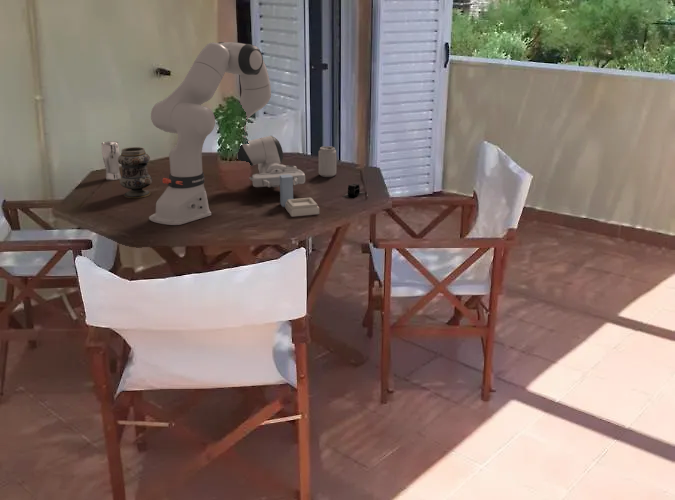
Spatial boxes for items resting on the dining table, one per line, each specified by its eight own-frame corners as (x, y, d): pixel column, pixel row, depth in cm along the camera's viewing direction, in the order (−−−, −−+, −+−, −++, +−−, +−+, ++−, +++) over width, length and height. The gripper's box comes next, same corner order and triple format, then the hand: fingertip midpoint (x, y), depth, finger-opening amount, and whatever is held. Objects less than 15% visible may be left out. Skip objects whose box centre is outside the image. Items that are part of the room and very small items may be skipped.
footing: (319, 214, 263) (319, 204, 262) (291, 216, 260) (291, 207, 259) (312, 206, 272) (312, 197, 271) (285, 208, 269) (285, 199, 268)
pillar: (293, 206, 272) (292, 177, 268) (282, 207, 271) (281, 177, 267) (290, 203, 276) (290, 174, 272) (280, 203, 275) (279, 175, 271)
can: (339, 175, 313) (339, 147, 309) (325, 178, 309) (324, 150, 305) (329, 172, 319) (329, 144, 315) (315, 174, 315) (315, 146, 311)
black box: (353, 201, 280) (353, 189, 278) (336, 198, 284) (336, 186, 282) (369, 193, 290) (369, 182, 288) (353, 191, 294) (353, 179, 292)
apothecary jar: (152, 189, 293) (148, 144, 287) (154, 197, 283) (150, 151, 276) (120, 192, 290) (115, 146, 284) (121, 200, 279) (116, 153, 273)
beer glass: (121, 175, 314) (118, 140, 308) (122, 179, 307) (119, 144, 302) (104, 177, 312) (100, 141, 306) (105, 181, 305) (101, 145, 300)
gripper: (248, 169, 285) (254, 177, 272) (299, 165, 290) (308, 174, 278) (248, 185, 287) (255, 194, 275) (300, 181, 293) (309, 190, 280)
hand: (282, 184), depth 276 cm, fingers open, 8 cm apart
